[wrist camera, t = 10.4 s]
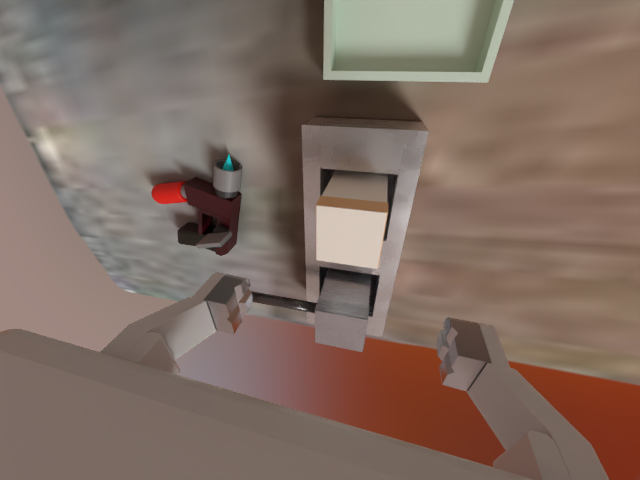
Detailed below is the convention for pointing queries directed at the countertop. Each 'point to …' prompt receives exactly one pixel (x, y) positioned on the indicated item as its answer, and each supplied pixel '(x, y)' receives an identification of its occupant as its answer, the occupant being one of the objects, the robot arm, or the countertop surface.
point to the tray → (413, 39)
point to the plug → (352, 218)
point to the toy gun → (208, 207)
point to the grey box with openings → (377, 284)
